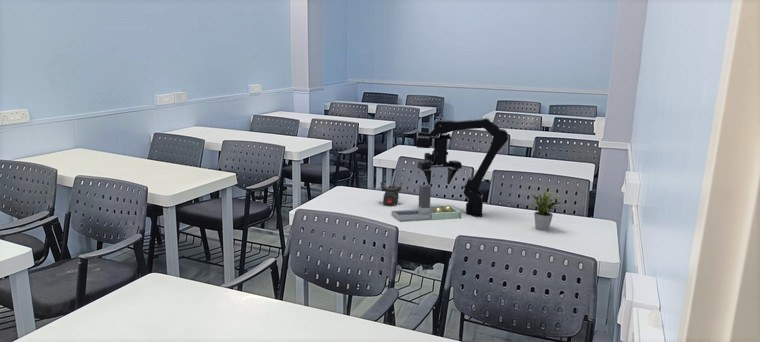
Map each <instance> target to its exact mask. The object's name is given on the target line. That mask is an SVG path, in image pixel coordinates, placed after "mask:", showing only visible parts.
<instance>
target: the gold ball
mask: <svg viewBox="0 0 760 342" xmlns="http://www.w3.org/2000/svg"><path fill="white" fill-rule="evenodd" d="M452 207H453V206H451V205H450V206H445V207H444V208H443V212H452V211H453V210H452Z"/></svg>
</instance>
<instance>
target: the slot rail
mask: <svg viewBox="0 0 760 342" xmlns="http://www.w3.org/2000/svg"><path fill="white" fill-rule="evenodd" d="M432 213H434V212H432ZM432 213H430V214H418V208H417V209H403V210H401V209H400V210H391V214H390V215H391V216H392V217H393V218H394V219H396V220H397V221H398V222H400V223H405V222H406V223H407V222H421V221H422V222H423V221H433V220H432V219H431V215H432ZM455 219H456V220H457V219H458V218H455ZM439 220H442V219H439Z"/></svg>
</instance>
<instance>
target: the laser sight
mask: <svg viewBox="0 0 760 342" xmlns="http://www.w3.org/2000/svg"><path fill="white" fill-rule="evenodd" d="M379 183H380V187H381V191H382V192H384V193H383V201H382V202H383V205H384V206H385V207H394V206H395V205H396V204H397V203H398V200H399V192H400V191H402V185H403V183H402V182H400V185H399V186H397V185H395V184H390V185H388V187H387V186H385V185H384V184H383V181H380V182H379Z"/></svg>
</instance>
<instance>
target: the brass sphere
mask: <svg viewBox="0 0 760 342" xmlns="http://www.w3.org/2000/svg"><path fill="white" fill-rule="evenodd" d="M434 213H443V210H442V209H441V208H439V207H437V208H435V209H434Z"/></svg>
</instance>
